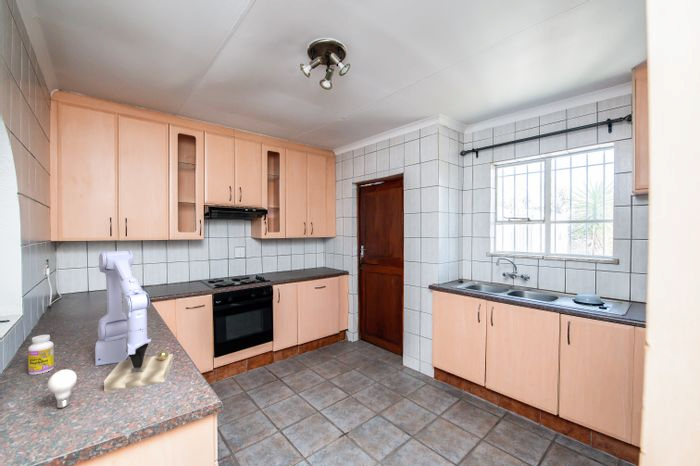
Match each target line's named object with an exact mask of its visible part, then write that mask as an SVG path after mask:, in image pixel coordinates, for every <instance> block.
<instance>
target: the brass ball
mask: <svg viewBox="0 0 700 466" xmlns="http://www.w3.org/2000/svg"><path fill="white" fill-rule="evenodd" d="M168 354H169V352H168V351H167V350H164V349H163V350H160V351H159V352H158V353H157V355H156V356H157V358H158V359H159V360H165V359H166V358H167V357H168Z"/></svg>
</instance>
